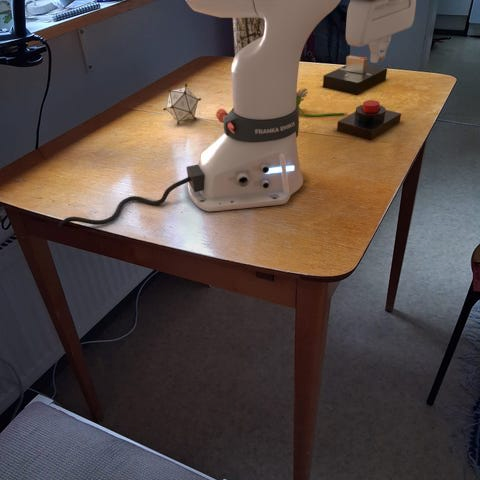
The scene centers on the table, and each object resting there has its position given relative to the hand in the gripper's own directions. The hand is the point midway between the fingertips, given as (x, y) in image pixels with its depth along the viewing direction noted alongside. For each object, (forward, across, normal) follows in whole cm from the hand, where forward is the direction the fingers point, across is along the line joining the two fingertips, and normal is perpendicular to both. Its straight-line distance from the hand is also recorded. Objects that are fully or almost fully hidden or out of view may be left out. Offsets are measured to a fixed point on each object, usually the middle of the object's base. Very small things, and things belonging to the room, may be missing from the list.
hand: (377, 61), depth 101 cm
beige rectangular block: (+10, -23, -19) cm, 32 cm away
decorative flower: (+14, 0, -17) cm, 22 cm away
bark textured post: (+14, +14, -23) cm, 30 cm away
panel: (+13, -23, -20) cm, 33 cm away
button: (+10, 0, 0) cm, 10 cm away
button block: (+14, 0, 0) cm, 14 cm away
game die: (+14, +22, -39) cm, 47 cm away
